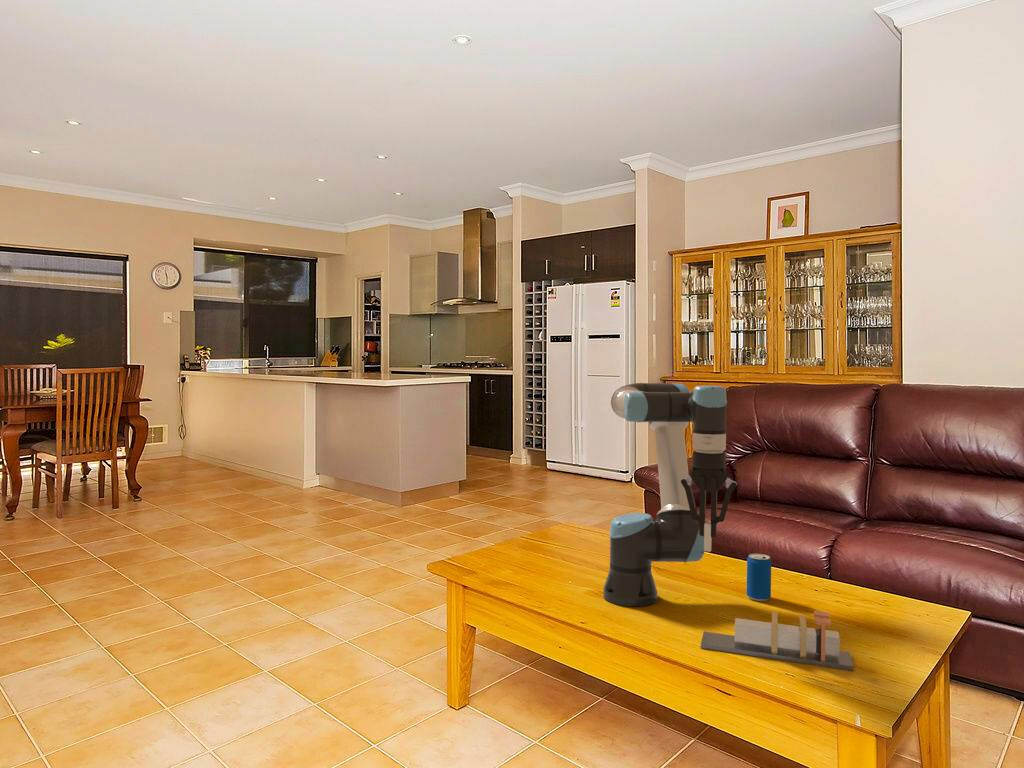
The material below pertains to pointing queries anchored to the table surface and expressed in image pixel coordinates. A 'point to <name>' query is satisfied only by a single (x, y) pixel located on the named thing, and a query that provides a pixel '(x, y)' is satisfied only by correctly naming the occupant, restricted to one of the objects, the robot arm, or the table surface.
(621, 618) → the table surface
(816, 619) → the aperture gantry
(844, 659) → the rail
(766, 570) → the beverage can
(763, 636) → the pale grey bar
